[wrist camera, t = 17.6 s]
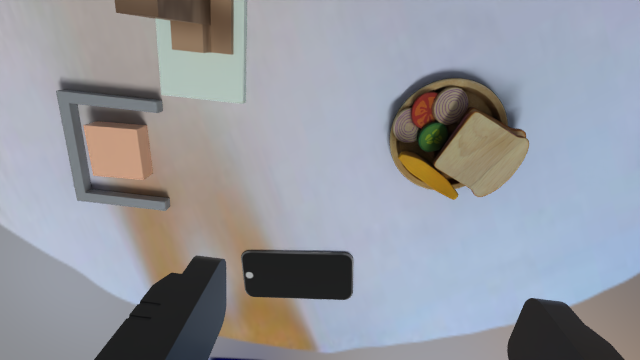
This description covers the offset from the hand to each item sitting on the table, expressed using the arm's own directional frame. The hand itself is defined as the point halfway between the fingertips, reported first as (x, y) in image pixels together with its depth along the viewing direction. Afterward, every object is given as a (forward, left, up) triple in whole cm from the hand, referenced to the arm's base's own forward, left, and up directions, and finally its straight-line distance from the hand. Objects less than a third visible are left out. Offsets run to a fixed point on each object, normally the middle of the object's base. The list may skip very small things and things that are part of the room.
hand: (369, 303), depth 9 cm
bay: (+8, -26, -30) cm, 40 cm away
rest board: (-6, -16, -30) cm, 35 cm away
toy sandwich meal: (+2, +12, -31) cm, 33 cm away
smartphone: (+23, -4, -31) cm, 39 cm away
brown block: (-8, -16, -29) cm, 34 cm away
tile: (+8, -26, -30) cm, 41 cm away
